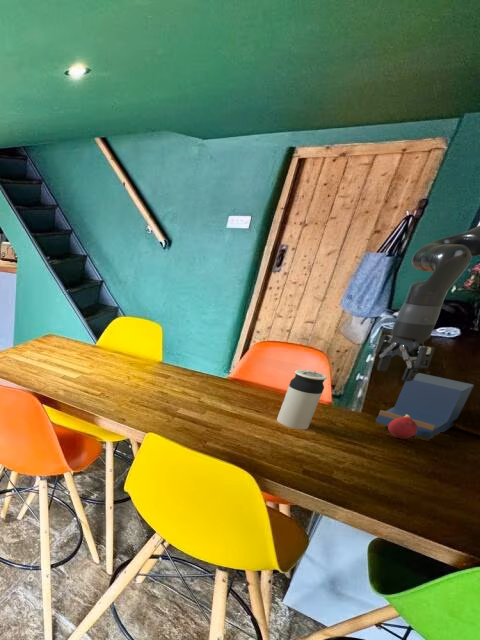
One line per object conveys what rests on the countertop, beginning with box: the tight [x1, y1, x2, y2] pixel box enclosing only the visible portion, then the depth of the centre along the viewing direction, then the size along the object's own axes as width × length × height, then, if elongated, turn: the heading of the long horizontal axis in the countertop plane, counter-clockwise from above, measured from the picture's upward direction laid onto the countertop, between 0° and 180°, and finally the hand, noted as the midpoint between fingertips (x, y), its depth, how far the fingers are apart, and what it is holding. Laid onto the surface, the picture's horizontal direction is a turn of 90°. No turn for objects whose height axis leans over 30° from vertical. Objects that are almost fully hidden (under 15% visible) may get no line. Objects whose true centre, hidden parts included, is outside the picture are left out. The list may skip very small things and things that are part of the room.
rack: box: [375, 372, 475, 439], centre depth 124 cm, size 22×12×14 cm, turn 118°
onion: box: [387, 414, 417, 440], centre depth 118 cm, size 6×6×8 cm
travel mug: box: [276, 369, 328, 430], centre depth 123 cm, size 8×8×18 cm
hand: (393, 375), depth 116 cm, fingers open, 8 cm apart
